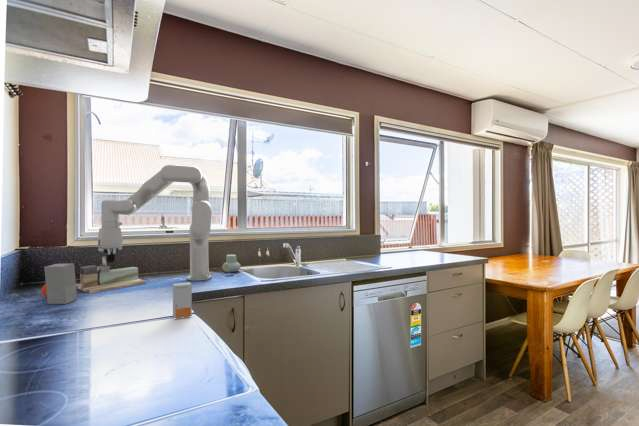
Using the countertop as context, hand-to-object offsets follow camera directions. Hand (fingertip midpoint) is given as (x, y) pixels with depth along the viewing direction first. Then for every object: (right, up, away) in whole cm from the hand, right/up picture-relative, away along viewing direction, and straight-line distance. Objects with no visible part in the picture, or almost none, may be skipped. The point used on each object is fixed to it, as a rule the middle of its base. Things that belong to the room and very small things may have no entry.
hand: (110, 262), depth 175 cm
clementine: (-12, -13, -22) cm, 28 cm away
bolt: (-4, -4, -5) cm, 7 cm away
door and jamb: (0, -12, 0) cm, 12 cm away
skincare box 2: (+55, -13, -49) cm, 74 cm away
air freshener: (+51, -11, +37) cm, 64 cm away
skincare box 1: (-3, -13, -30) cm, 32 cm away
